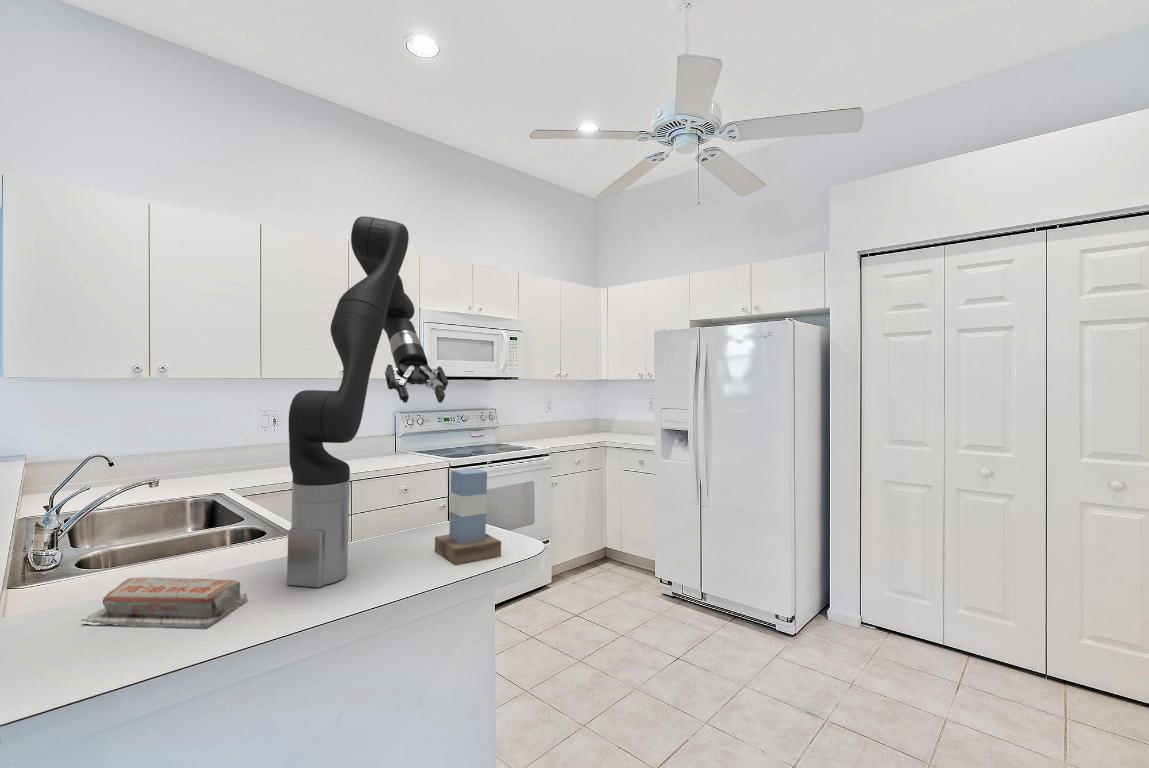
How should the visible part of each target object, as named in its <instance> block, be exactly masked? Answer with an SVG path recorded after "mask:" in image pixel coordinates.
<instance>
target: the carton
mask: <svg viewBox="0 0 1149 768" xmlns="http://www.w3.org/2000/svg"><path fill="white" fill-rule="evenodd" d="M487 485H488V472H487V471H486V470H481V469H478V468H476V467H475V468H473V467H471V468H462V469H461V468H460V469H452V470H450V494H449V511H450V512H449V533H448V535H449V538H451V539H453V540H454V541H456V542H458V543H460V544H466V543H471V542H477V541H483V540H485V533H486V531H487V530H486V525H487V524H486V523H487V505H488V504H487V503H488V502H487V501H488V500H487V499H488V494H487V491H488V486H487Z"/></svg>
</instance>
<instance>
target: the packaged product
mask: <svg viewBox="0 0 1149 768" xmlns="http://www.w3.org/2000/svg"><path fill="white" fill-rule="evenodd" d="M246 603H248V596H247V593H243V594H241V582H240V580H235V579H234V580H232V579H231V580H230V579H213V578H211V579H208V578H180V577H179V578H177V577H173V578H172V577H156V576H155V577H150V576H149V577H146V576H145V577H143V576H140V577H130V578H127V579H125V580H123V581H122V582H121V583H120V584H119V585H118V586H117V587H115V588H114V589H112V590H111V591H109V592H108V593H107V594H106V595H105V596H104V597H103V599H102V605H103V606H104V607H103V608H102V609H99V610H98V611H95V612H93V613H91V614H89V615H88V616H87V617H86V618H82V619H81V620H80V621H86V622H92V623H100V624H115V625H116V624H117V625H133V626H134V625H135V626H145V627H144V628H158V627H164V628H173V627H175V629H176V628H179V629H180V628H182V629H183V628H184V629H185V628H189V629H190V628H191V629H209V628H211V627H213V625H215V624H217V623H218V622H219V621H221V620H223V619H224V618H225V617H227V616H228V615H230V614H231V613H233V612H235V611H236V610H237V609H238V607H239V608H240V607H241V606H243V605H244V604H246ZM133 626H132V627H133Z"/></svg>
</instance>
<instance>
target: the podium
mask: <svg viewBox="0 0 1149 768" xmlns="http://www.w3.org/2000/svg"><path fill="white" fill-rule="evenodd" d="M434 552H435V553H437V554H438V555H440V556H441V557H443V558H444V559H446V560H447V561H449V562H450V563H452V564H453V565H455V566H457V565H456V564H458V565H462V564H461V563H463V564H467V562H468V563H472V561H473V562H478V561H483V560H489V559H493V558H492V557H494V558H497V557H496V556H499V557H501V556H502V555H501V554H502V541H501V540H499V539H497V538H495V537H494V536H491V535H489V534H487V533H486V532H485V540H483V541H477V542H471V543H466V544H460V543H458V542H456V541H454V540H453V539H451V538H449V534H445V535H439V536H438V535H437V536H434ZM488 558H489V559H488Z"/></svg>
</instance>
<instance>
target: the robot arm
mask: <svg viewBox="0 0 1149 768" xmlns="http://www.w3.org/2000/svg"><path fill="white" fill-rule="evenodd" d="M409 237H410V235H409V231H408V229H407V226H405V224H403V223H401V222H398V221H394V220H389V219H385V218H378V217H372V216H366V215H365V216H359V217H357V218H356V219H355V221H354V223H353V225H352V228H351V233H350V243H351V244H350V245H351V249H352V252H353V255H354V256H355V258H356V260H357V262H358V263H359V264H360V267H361V268H362V269H363V271H364V273H365V274H366V277H364V278H362V279H361V280H360V281H358V282H357V283H355V284H354V285H352V286H351V287H349V289H348V290H346V291H345V292H344V293H343V294H342V296H341V297H340V298H339V300H338V302H337V306H336V309H335V311H334V313H333V316H332V318H331V319H332V320H331V324H330V334H331V335H330V336H331V338H332V343H333V344H334V347H335V349H336V351H337V354H338V356H339V357H340V361H341V363H342V368H343V371H342V372H343V373H342V379H341V383H340V386H339V388H338V389H337V390H324V389H323V390H322V389H321V390H320V389H319V390H316V389H314V390H313V389H307V390H306V389H305V390H302V391H299V392H297V393H296V394H295V395H294V396H293V398H292V401H291V403H290V406H289V411H288V445H289V447H288V448H289V452H288V453H289V457H288V458H289V466H290V470H291V474H292V482H291V483H292V487H291V489H292V490H291V518H290V522H291V524H290V525H291V526H290V527H291V528H289V529H288V531H287V557H286V558H287V560H286V561H287V562H286V564H287V567H286V568H287V569H286V585H287V586H288V585H289V586H299V587H309V588H322V587H323V586H326V585H329V584H333V583H336V582H339V581H341V580H343V579H345V578H346V577H347V575H348V562H349V560H348V559H349V557H348V556H349V515H350V514H349V513H350V511H349V510H350V506H349V505H350V477H351V476H350V475H351V470H350V469H351V468H350V465H349V464H348V463H347V461H344V460H341V459H339V458H338V457H337V458H336V457H334V456H333V455H331V454H330V453H329V452H328V451H327V450H326V449H325V447H324V444H325V443H328V444H329V443H330V444H331V443H333V444H346V443H349V442H351V441H353V439H354V438H355V437H356V436H357V433H358V431H359V429H360V427H361V423H362V418H363V415H364V414H363V413H364V409H365V404H366V398H367V392H368V385H369V379H370V375H371V370H372V367H373V364H374V359H375V356H376V353H377V350H378V349H377V348H378V346H379V343H380V339H381V336H382V334H383V331H384V332H385V334H386V335H387V340H388V341H389V345H390V346H389V347H390V352H391V355H392V358H393V362H394V364H395V365H394V366H395V367H393V365H392V364H389V363H388V364H387V366H386V369H385V371H384V375H385V380H386V385H387V388H388V390H390V391H391V390H393V389H394V390H395V391H396V392H397V394H398V396H399V400H401V401H402V403H408V400H409V393H408V389H407V387H406V386H407V384H410V385H424V386H425V387H426V388H427V389H432V390H433V391H434V394H435V398H436V401H437V402H438V403H440V404H441V403H443V401H444V399H445V397H446V393H445V391H446V390H447V386H448V385H449V380H448V378H447V376H446V374H445V372H444V370H443V368H442V366H437V368H431V367H430V366H429V364H428V363H429V362H428V359H427V357H426V354H425V351H424V348H423V345H422V342H421V341H420V339H419V337H418V334H417V331H416V329H415V326H414V324H413V322H412V321H411V320H412V319H413V317H414V315H415V306H414V303H413V302H412V300H411V299H410V297H409V296H408V295H407V294H406V293H405V289H404V284H403V279H402V278H401V276H400V275H399V273H400V271H401V268H402V265H403V263H404V260H405V258H406V254H407V250H408V245H409V241H410V240H409ZM396 374H397V376H399V377H400V378H401V379H400V380H399V381H396V377H395V375H396ZM428 379H429V381H428Z"/></svg>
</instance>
